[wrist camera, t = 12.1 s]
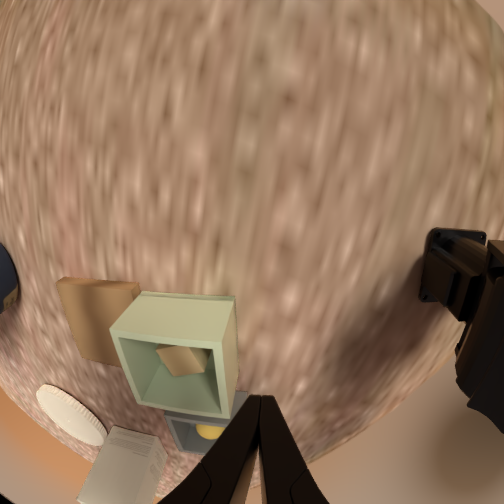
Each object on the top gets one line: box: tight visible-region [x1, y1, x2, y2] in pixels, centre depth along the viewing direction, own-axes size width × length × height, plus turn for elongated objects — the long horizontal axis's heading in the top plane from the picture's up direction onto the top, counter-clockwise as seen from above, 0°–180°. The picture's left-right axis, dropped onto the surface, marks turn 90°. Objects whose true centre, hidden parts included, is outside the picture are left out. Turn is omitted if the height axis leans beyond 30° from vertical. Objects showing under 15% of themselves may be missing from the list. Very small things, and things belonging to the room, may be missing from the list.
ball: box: [196, 424, 225, 439], centre depth 25 cm, size 3×3×3 cm
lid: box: [56, 277, 141, 368], centre depth 24 cm, size 9×9×2 cm
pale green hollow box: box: [109, 291, 239, 419], centre depth 21 cm, size 8×8×6 cm
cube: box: [156, 343, 212, 376], centre depth 22 cm, size 3×3×3 cm
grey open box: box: [164, 391, 248, 455], centre depth 25 cm, size 8×8×4 cm
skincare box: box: [76, 425, 168, 504], centre depth 25 cm, size 8×7×16 cm
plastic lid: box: [36, 384, 107, 446], centre depth 32 cm, size 14×14×2 cm
